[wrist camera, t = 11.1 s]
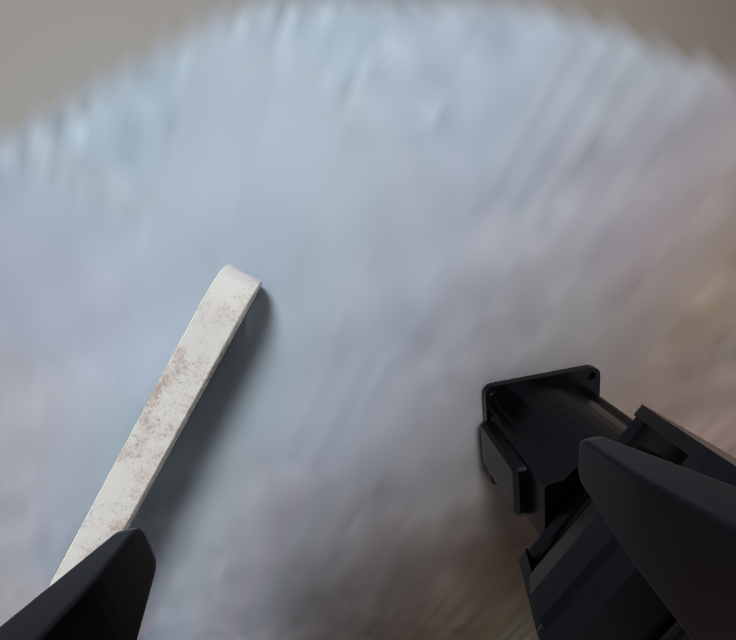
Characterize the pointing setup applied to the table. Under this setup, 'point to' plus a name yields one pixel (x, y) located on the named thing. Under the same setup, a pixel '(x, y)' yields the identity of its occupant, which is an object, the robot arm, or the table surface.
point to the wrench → (166, 412)
